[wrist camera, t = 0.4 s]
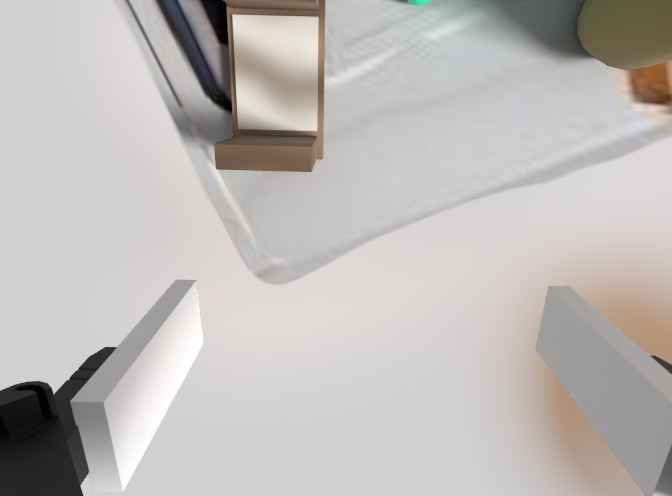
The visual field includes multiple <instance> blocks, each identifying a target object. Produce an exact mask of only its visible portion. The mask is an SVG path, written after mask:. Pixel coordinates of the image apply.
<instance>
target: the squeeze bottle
mask: <svg viewBox="0 0 672 496" xmlns="http://www.w3.org/2000/svg"><path fill="white" fill-rule="evenodd" d="M577 35H578V38H579V40H580V43H581V45H582V47H583V48H584V49H585V50H586V51H587V52H588V53H590V54H591V55H592V56H593V57H595V58H596V59H598V60H600V61H601V62H603V63H604V64H606V65H607V66H611V67H615V68H619V69H623V70H631V69H637V68H643V67H648V66H652V65H656V64H660V63H664V62H668V61H672V0H586V1H585V2H584V4H583V6H582V8H581V11H580V14H579V16H578V19H577Z"/></svg>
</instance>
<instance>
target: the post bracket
mask: <svg viewBox="0 0 672 496" xmlns="http://www.w3.org/2000/svg"><path fill="white" fill-rule="evenodd" d="M223 1H224V2H226V4H227V22H228V40H229V59H230V77H231V95H232V114H233V132H234V137H232V138H229V139H226V140H224V141H221V142H219V143H216V144H214V148H215V162H216V169H221V170H258V171H295V172H312V169H313V166H314V164H315V161H316V159H323V119H324V52H325V0H223Z"/></svg>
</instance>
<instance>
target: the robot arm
mask: <svg viewBox="0 0 672 496" xmlns="http://www.w3.org/2000/svg"><path fill="white" fill-rule="evenodd" d="M202 345H203V335H202V326H201V317H200V308H199V299H198V289H197V281H196V280H175V282H174V283H173V284H172V285H171V286H170V288H168V290H167V291H166V292H165V293H164V294H163V295H162V296H161V298H160V299H159V300H158V301H157V302H156V304H155V305H154V306H153V307H152V308H151V309H150V310H149V311H148V313H147V314H146V315H145V316H144V317H143V318H142V320H141V321H140V322H139V323H138V324H137V325H136V326H135V328H134V329H133V330H132V331H131V332H130V333H129V335H128V336H127V337H126V338H125V339H124V340H123V341H122V342H121V344H120V345H119V346H118V347H105V348H103V349H102V350H100V351H98V352H97V353H95V354H93V355H92V356H90V357H89V358H88V359H87V360H86V361H85V362H84V363H83V364H82V365H81V366H80V367H79V369H78V371H76V372H75V373H74V374H73V375H72V376H71V377H70V379H69V380H67V381H66V382H65V383H64V384H63V385H62V386H61V387H60V389H58V391H57V392H56V393H55V394H54V395H53V391H52V388H51V387H50V386H49V385H48V384H47V383H44V382H40V381H33V382H25V383H20V384H16V385H13V386H11V387H9V388H6V389H3V390H1V391H0V496H83V493H82V490H81V487H80V485H81V484H82V482H83V481H84V479H85V478H86V476H87V475H89V479H90V483H91V487H92V491H111V492H123V491H124V489H125V487H126V485H127V483H128V482H129V480H130V478H131V476H132V474H133V472H134V471H135V469H136V467H137V465H138V463H139V461H140V459H141V458H142V456H143V454H144V452H145V450H146V448H147V447H148V445H149V443H150V441H151V439H152V437H153V435H154V434H155V432H156V430H157V428H158V426H159V424H160V423H161V421H162V419H163V417H164V415H165V413H166V412H167V410H168V408H169V406H170V404H171V402H172V401H173V399H174V397H175V395H176V393H177V391H178V389H179V388H180V386H181V384H182V382H183V380H184V378H185V377H186V375H187V373H188V371H189V369H190V367H191V366H192V364H193V362H194V360H195V358H196V356H197V354H198V353H199V351H200V349H201V347H202ZM536 351H537V352H538V353H539V355H540V356H541V357H542V359H543V360H544V361H545V363H546V364H547V365H548V367H549V368H550V369H551V370H552V372H553V373H554V375H555V376H556V377H557V379H558V380H559V381H560V383H561V384H562V385H563V387H564V388H565V389H566V390H567V392H568V393H569V395H570V396H571V397H572V399H573V400H574V401H575V403H576V404H577V405H578V407H579V408H580V409H581V411H582V412H583V413H584V415H585V416H586V417H587V419H588V420H589V421H590V423H591V424H592V425H593V427H594V428H595V429H596V430H597V432H598V433H599V435H600V436H601V437H602V439H603V440H604V441H605V442H606V444H607V445H608V447H609V448H610V449H611V450H612V452H613V453H614V454H615V456H616V457H617V459H618V460H619V461H620V462H621V464H622V465H623V466H624V468H625V469H626V471H627V472H628V473H629V475H630V476H631V477H632V479H633V480H634V481H635V482H636V484H637V485H638V486H639V488H640V489H641V490H642V492H643V493H644V494H645V496H672V365H671V364H669V363H667V362H666V361H663V360H662V359H660V358H658V357H656V356H650V355H649V354H647V353H646V352H645V351H644V350H642V348H640V347H639V346H638V345H637V344H635V342H633V341H632V340H631V339H630V338H629V337H627V336H626V335H625V334H624V333H623V332H622V331H620V330H619V329H618V328H617V327H616V326H615V325H613V324H612V323H611V322H610V321H609V320H608V319H607V318H605V317H604V316H603V315H602V314H601V313H600V312H598V311H597V310H596V309H595V308H594V307H592V306H591V305H590V304H589V303H588V302H587V301H586V300H584V299H583V298H582V297H581V296H580V295H579V294H577V293H576V292H575V291H574V290H573V289H572V288H570V287H568V286H549V287H548V291H547V297H546V301H545V306H544V311H543V316H542V321H541V326H540V330H539V335H538V340H537V345H536Z"/></svg>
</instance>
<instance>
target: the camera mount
mask: <svg viewBox="0 0 672 496" xmlns="http://www.w3.org/2000/svg"><path fill="white" fill-rule="evenodd" d="M408 1H409V2H410V3H411V4H413V5H421V4H424V3H426V2H428V1H430V0H408Z"/></svg>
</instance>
